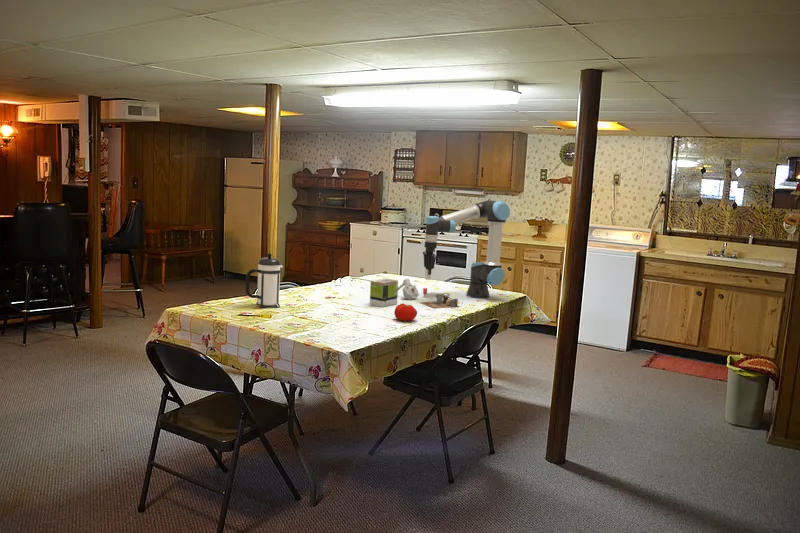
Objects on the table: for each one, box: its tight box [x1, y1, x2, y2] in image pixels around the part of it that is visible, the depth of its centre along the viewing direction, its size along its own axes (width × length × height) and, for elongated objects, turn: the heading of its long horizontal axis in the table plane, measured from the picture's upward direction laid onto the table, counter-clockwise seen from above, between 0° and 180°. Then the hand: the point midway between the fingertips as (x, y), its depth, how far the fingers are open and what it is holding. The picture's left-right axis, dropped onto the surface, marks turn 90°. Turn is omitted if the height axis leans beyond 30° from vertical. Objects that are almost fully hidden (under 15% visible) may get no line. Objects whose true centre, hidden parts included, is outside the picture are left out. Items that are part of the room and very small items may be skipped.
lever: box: [422, 287, 451, 303], centre depth 383 cm, size 17×5×8 cm, turn 105°
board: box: [417, 298, 461, 310], centre depth 381 cm, size 20×18×6 cm
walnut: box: [446, 298, 451, 306], centre depth 379 cm, size 4×4×4 cm
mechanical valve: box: [397, 278, 420, 301], centre depth 402 cm, size 10×18×15 cm
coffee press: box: [245, 252, 284, 309], centre depth 351 cm, size 17×16×30 cm
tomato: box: [393, 303, 418, 322], centre depth 339 cm, size 13×12×8 cm
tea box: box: [369, 278, 399, 308], centre depth 377 cm, size 15×10×15 cm, turn 145°
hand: (427, 279), depth 387 cm, fingers closed
